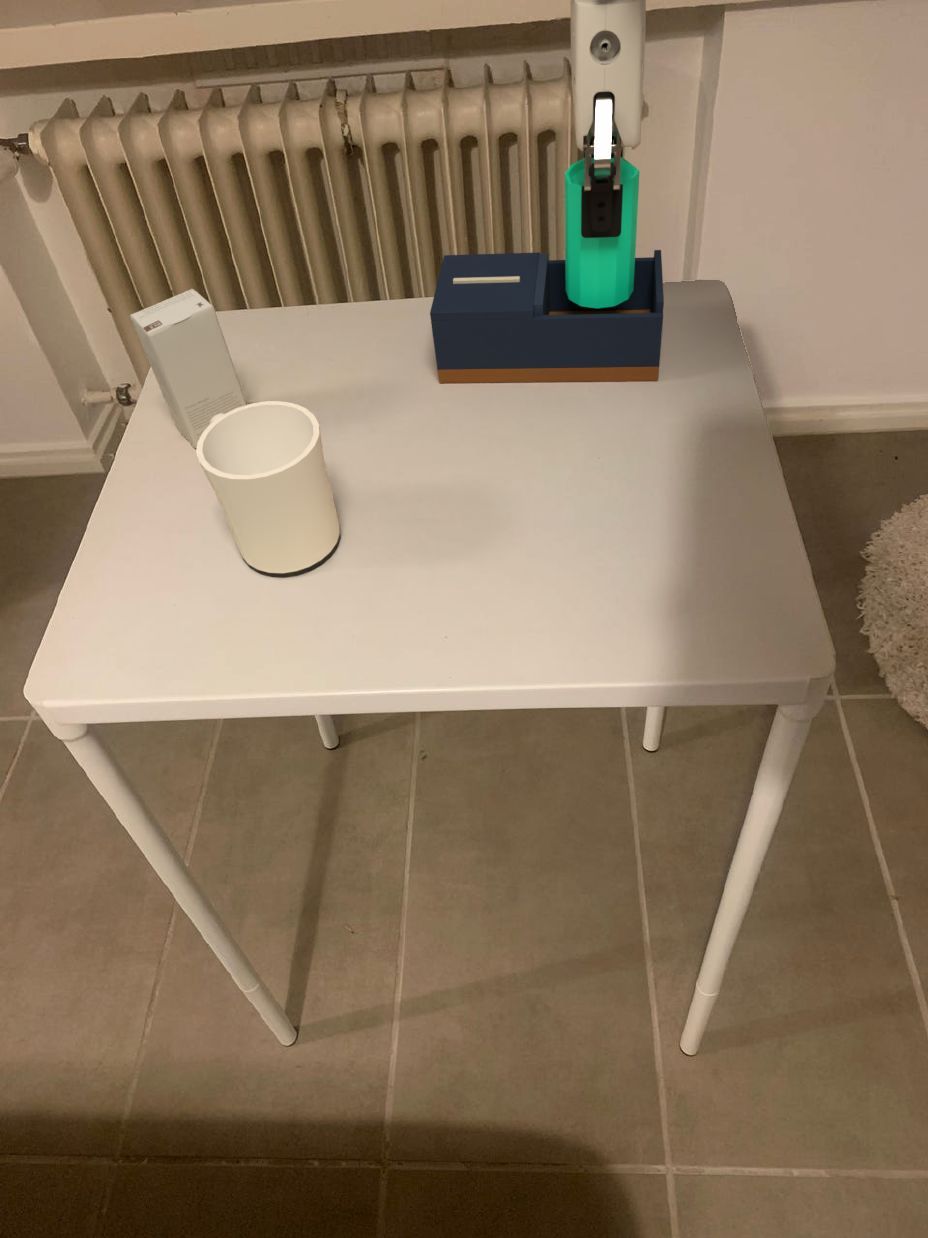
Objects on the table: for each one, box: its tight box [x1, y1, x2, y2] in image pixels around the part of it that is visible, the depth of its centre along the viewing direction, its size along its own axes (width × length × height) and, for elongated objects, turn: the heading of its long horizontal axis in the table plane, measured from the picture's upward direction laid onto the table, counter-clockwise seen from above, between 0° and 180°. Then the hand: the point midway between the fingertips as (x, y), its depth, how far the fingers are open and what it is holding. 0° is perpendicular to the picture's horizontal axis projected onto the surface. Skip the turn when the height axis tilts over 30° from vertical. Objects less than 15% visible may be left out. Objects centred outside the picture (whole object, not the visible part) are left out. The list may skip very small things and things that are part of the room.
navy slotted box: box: [429, 249, 665, 384], centre depth 85 cm, size 20×10×8 cm, turn 84°
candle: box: [564, 156, 640, 308], centre depth 78 cm, size 6×6×12 cm
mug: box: [195, 400, 341, 578], centre depth 70 cm, size 11×9×10 cm
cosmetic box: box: [129, 288, 248, 449], centre depth 80 cm, size 6×4×12 cm
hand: (601, 213), depth 77 cm, fingers closed on candle, 6 cm apart
